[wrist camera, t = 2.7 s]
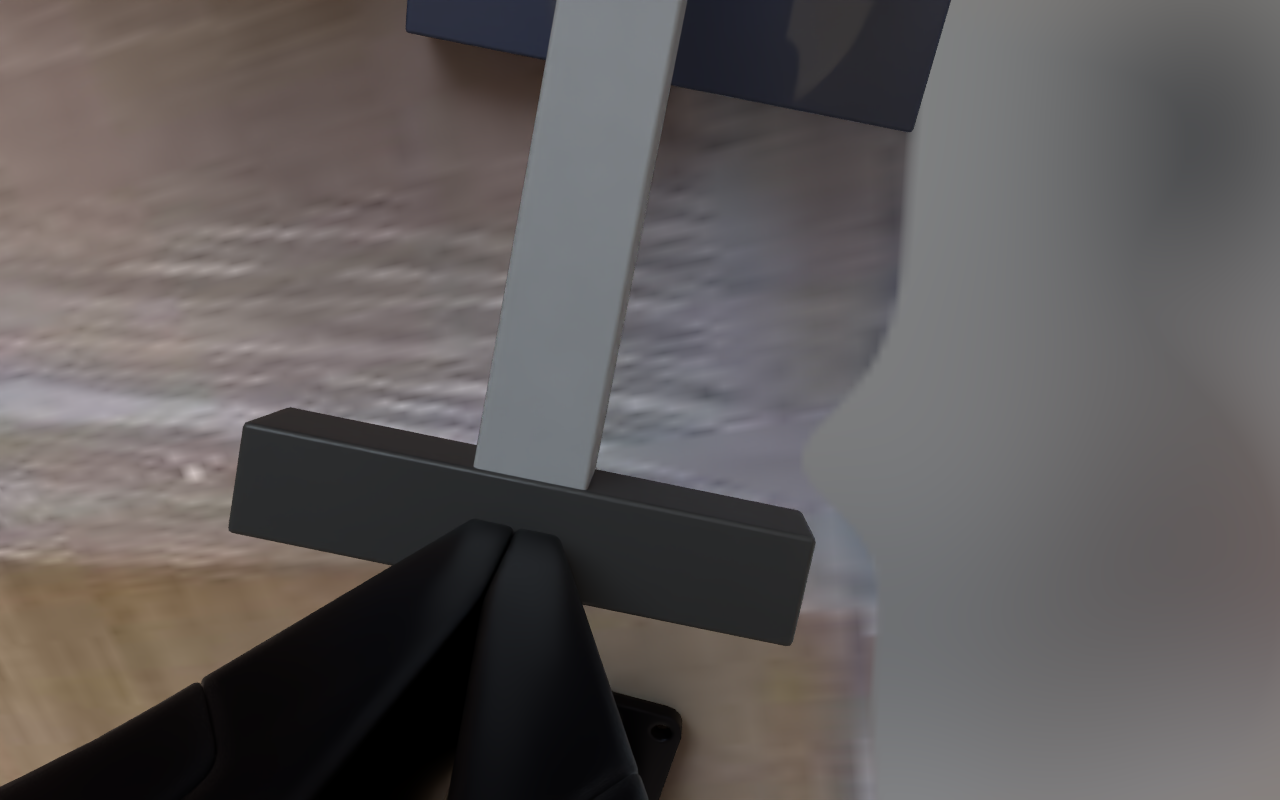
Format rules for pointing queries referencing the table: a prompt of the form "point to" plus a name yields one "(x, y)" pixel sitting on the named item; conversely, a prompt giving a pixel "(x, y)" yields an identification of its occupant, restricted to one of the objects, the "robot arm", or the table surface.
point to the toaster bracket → (751, 48)
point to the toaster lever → (550, 385)
